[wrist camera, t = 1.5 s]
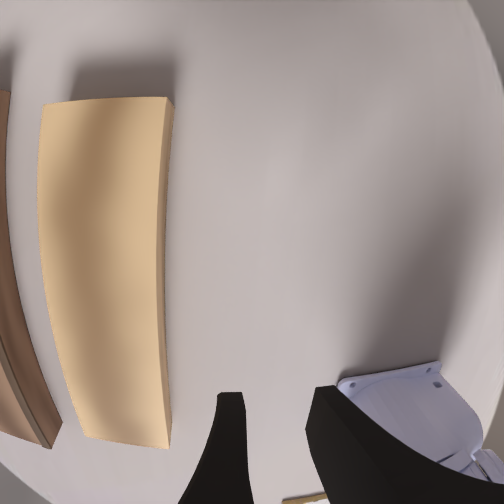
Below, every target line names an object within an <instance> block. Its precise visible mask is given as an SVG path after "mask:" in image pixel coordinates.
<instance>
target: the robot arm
mask: <svg viewBox="0 0 504 504" xmlns="http://www.w3.org/2000/svg"><path fill="white" fill-rule="evenodd" d="M441 367H442V363H441V362H440V361H435V362H431V363H426V364H422V365H417V366H413V367H408V368H403V369H398V370H392V371H387V372H381V373H375V374H369V375H362V376H356V377H348V378H344V379H342V380H341V381H340V382H339V383H338V386H337V387H336V386H334V385H331V386H323V387H316V388H315V392H314V397H313V401H312V405H311V409H310V413H309V416H308V420H307V424H306V428H305V430H306V435H307V440H308V444H309V448H310V453H311V456H312V459H313V462H314V464H315V467H316V469H317V472H318V475H319V477H320V480H321V482H322V485H323V487H324V490H325V492H326V495H327V498H328V500H329V503H330V504H504V463H503V462H502V461H501V460H500V459H499V457H498V456H497V455H496V454H495V453H494V452H493V451H492V450H491V449H484V450H481V447H482V443H483V430H482V425H481V422H480V420H479V417H478V416H477V414H476V413H475V411H474V410H473V409H472V408H471V407H470V406H469V405H468V403H467V402H466V401H465V400H464V399H463V398H462V397H461V396H460V395H459V394H458V393H457V391H456V390H455V389H454V388H453V387H452V386H451V385H450V384H449V383H448V382H447V381H446V380H445V379H444V378H443V376H442V375H441V374H440V373H439V372H440V369H441ZM351 383H353V384H351ZM350 384H351V385H350ZM475 459H477V461H478V462H479V464H480V465H479V466H480V467H481V468H482V470H483V471H484V472H485V474H486V475H487V477H486V476H485V475H484V474H483V472H482V471H481V469H480V468H479V467H478V465H477V464H476V463H475ZM178 504H254V501H253V496H252V491H251V486H250V481H249V472H248V457H247V430H246V409H245V404H244V399H243V395H242V392H221V393H219V394H218V395H217V406H216V412H215V417H214V421H213V425H212V428H211V431H210V434H209V437H208V440H207V443H206V446H205V449H204V451H203V454H202V456H201V458H200V461H199V463H198V465H197V468H196V470H195V472H194V474H193V476H192V478H191V480H190V482H189V484H188V486H187V488H186V490H185V492H184V494H183V495H182V497H181V499H180V501H179V502H178Z"/></svg>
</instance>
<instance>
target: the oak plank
mask: <svg viewBox="0 0 504 504" xmlns="http://www.w3.org/2000/svg"><path fill="white" fill-rule="evenodd" d="M174 109H175V107H174V106H173V105H172V103H171V102H170V101H169V99H168V98H167V97H121V98H102V99H89V100H78V101H68V102H59V103H52V104H44V105H43V111H42V119H41V128H40V138H39V151H38V173H37V210H38V232H39V245H40V256H41V265H42V274H43V281H44V288H45V294H46V300H47V306H48V312H49V317H50V322H51V326H52V331H53V336H54V340H55V344H56V348H57V352H58V356H59V360H60V363H61V367H62V370H63V374H64V377H65V381H66V384H67V387H68V390H69V393H70V396H71V399H72V402H73V405H74V408H75V411H76V413H77V416H78V419H79V421H80V424H81V426H82V429H83V431H84V434H85V436H87V437H91V438H96V439H101V440H106V441H112V442H117V443H124V444H130V445H137V446H145V447H153V448H162V449H170V438H171V428H172V418H171V407H170V396H169V384H168V369H167V352H166V329H165V228H166V204H167V186H168V172H169V159H170V147H171V137H172V127H173V118H174Z"/></svg>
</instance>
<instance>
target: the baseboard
mask: <svg viewBox="0 0 504 504" xmlns="http://www.w3.org/2000/svg"><path fill="white" fill-rule="evenodd" d="M281 504H330V503H329V500H328V498H327V495H326V493H325V494H320V495H316V496H310V497H305V498H299V499H293V500H287V501H282V503H281Z"/></svg>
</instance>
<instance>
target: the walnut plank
mask: <svg viewBox="0 0 504 504" xmlns="http://www.w3.org/2000/svg"><path fill="white" fill-rule="evenodd" d="M10 94H11V92H7V91H4V90H0V431H2V432H5V433H7V434H10V435H13V436H15V437H18V438H21V439H24V440H27V441H30V442H33V443H36V444H39V445H42V447H44V448H47V449H52V446H53V444H54V442H55V439H56V437H57V435H58V432H59V430H60V428H61V425H62V423H63V422H62V420H61V418H60V416H59V414H58V412H57V409H56V407H55V405H54V402H53V400H52V398H51V395H50V393H49V391H48V388H47V386H46V383H45V380H44V378H43V375H42V372H41V370H40V367H39V364H38V361H37V358H36V355H35V352H34V349H33V346H32V343H31V340H30V336H29V333H28V329H27V326H26V322H25V318H24V315H23V311H22V306H21V302H20V298H19V293H18V289H17V284H16V279H15V273H14V267H13V261H12V255H11V248H10V240H9V231H8V221H7V208H6V188H5V153H6V133H7V120H8V110H9V102H10Z"/></svg>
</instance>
